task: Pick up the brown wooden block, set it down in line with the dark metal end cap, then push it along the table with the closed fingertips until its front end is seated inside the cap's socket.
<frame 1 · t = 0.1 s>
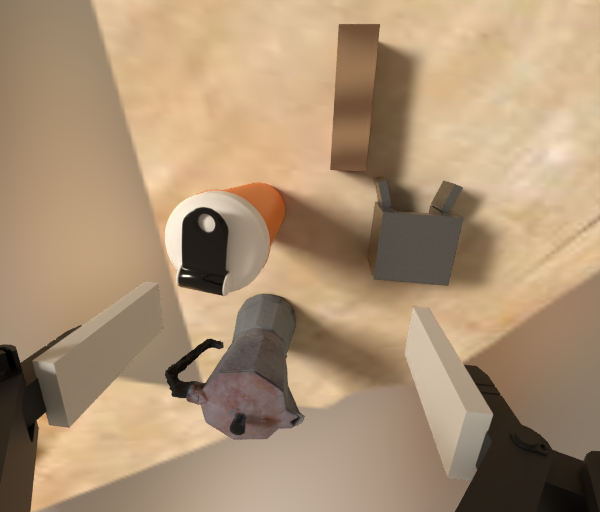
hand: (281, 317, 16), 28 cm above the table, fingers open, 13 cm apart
shaker bottle: (260, 208, 43), on the table
moka pot: (265, 318, 49), on the table
brown wooden block: (350, 108, 38), on the table
end cap: (402, 241, 43), on the table
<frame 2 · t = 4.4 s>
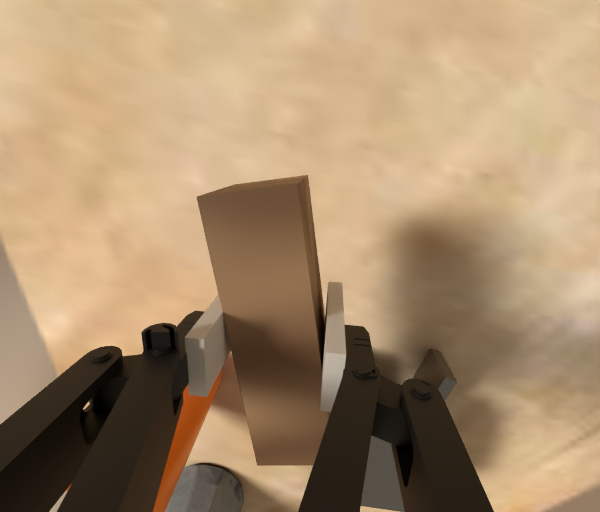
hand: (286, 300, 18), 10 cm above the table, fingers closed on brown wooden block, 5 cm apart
shaker bottle: (190, 366, 33), on the table
moka pot: (205, 487, 38), on the table
brown wooden block: (289, 299, 19), point 9 cm above the table, touching gripper
end cap: (377, 414, 32), on the table
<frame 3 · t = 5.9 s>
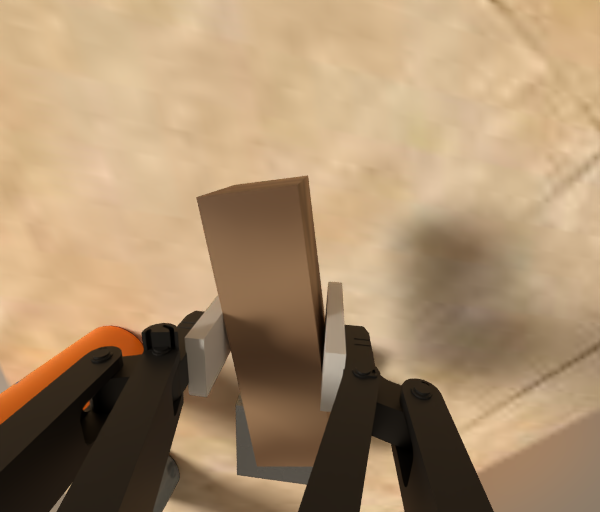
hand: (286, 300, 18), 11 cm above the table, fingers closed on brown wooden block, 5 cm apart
shaker bottle: (118, 352, 35), on the table
moka pot: (144, 466, 40), on the table
brown wooden block: (289, 299, 19), point 10 cm above the table, touching gripper
end cap: (294, 396, 34), on the table
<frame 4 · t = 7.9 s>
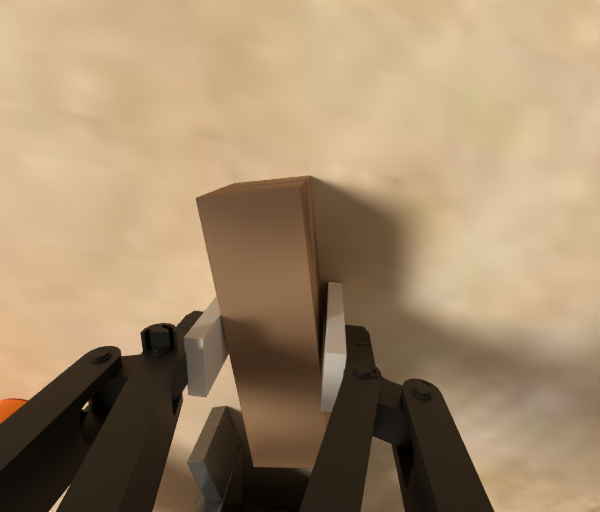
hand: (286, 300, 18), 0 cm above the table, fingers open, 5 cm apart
shaker bottle: (31, 431, 25), on the table
brown wooden block: (288, 300, 19), on the table
end cap: (277, 496, 24), on the table
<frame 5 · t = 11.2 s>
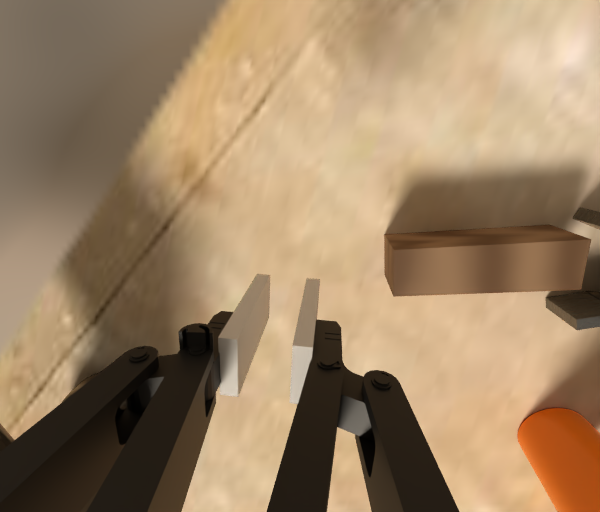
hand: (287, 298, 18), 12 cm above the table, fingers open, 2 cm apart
shaker bottle: (550, 431, 34), on the table
brown wooden block: (461, 250, 29), on the table
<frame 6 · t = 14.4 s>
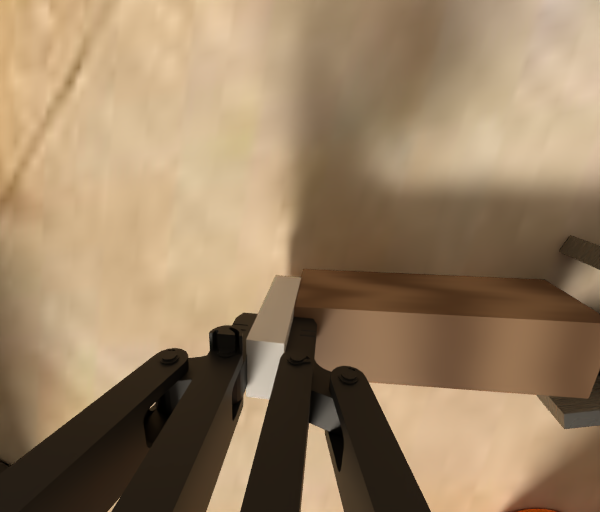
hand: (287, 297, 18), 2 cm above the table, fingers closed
brown wooden block: (415, 303, 20), on the table, touching gripper
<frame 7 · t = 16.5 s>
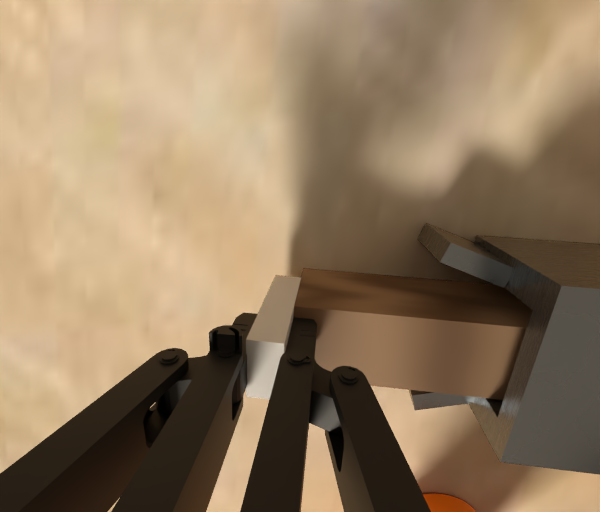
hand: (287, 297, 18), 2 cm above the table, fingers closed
brown wooden block: (413, 307, 20), on the table, touching gripper
end cap: (547, 310, 19), on the table
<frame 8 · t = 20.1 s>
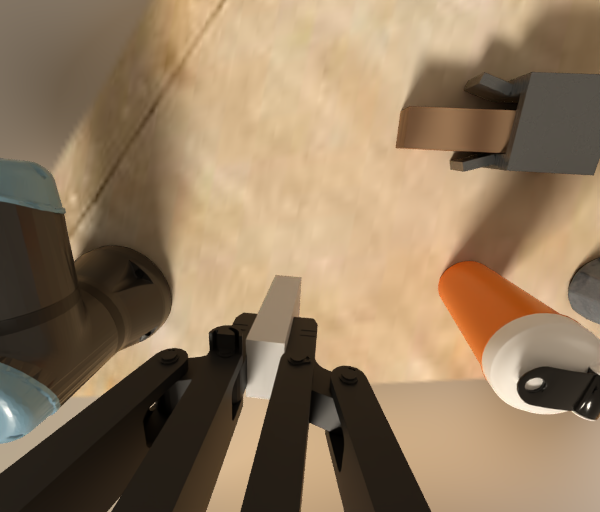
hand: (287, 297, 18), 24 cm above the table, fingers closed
shaker bottle: (464, 284, 43), on the table
brown wooden block: (458, 133, 37), on the table
end cap: (530, 130, 36), on the table
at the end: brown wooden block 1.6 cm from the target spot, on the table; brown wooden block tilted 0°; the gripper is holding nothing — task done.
